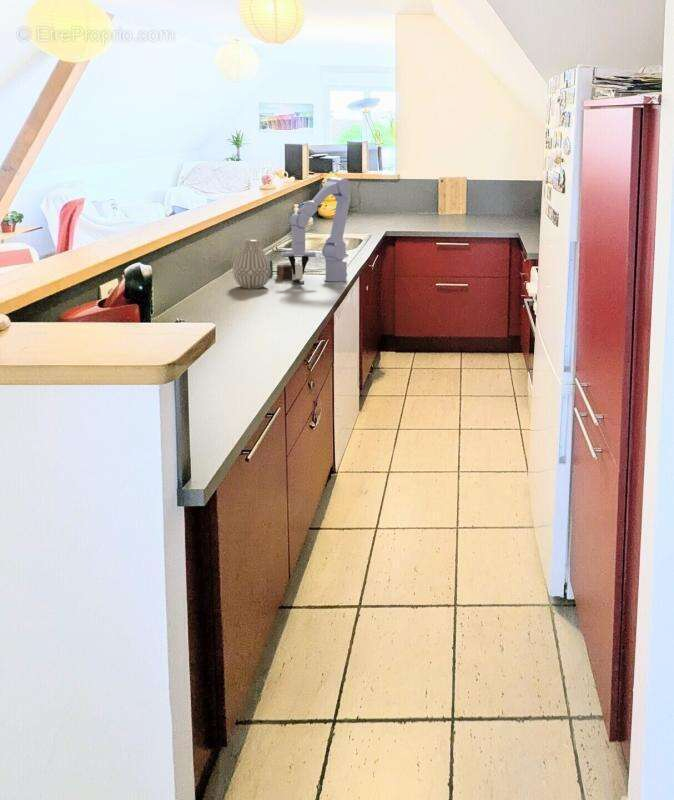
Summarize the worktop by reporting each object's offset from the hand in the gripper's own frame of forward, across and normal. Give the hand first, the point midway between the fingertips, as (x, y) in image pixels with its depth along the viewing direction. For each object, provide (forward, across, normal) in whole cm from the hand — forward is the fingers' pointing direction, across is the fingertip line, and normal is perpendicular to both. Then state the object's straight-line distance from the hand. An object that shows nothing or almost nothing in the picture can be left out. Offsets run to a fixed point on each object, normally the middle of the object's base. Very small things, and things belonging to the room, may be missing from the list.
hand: (298, 274), depth 422 cm
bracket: (+5, +15, -16) cm, 23 cm away
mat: (+4, 0, -4) cm, 6 cm away
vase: (+5, +20, +5) cm, 21 cm away
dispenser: (+4, +2, -16) cm, 16 cm away
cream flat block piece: (+3, 0, -3) cm, 4 cm away
